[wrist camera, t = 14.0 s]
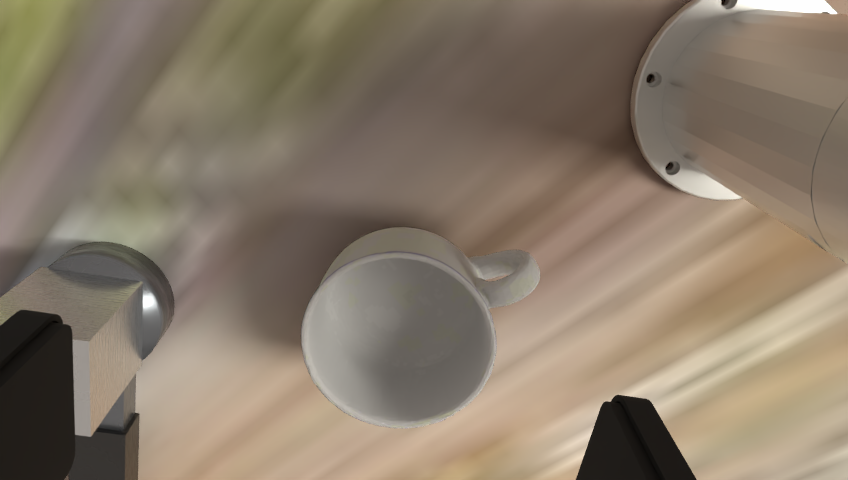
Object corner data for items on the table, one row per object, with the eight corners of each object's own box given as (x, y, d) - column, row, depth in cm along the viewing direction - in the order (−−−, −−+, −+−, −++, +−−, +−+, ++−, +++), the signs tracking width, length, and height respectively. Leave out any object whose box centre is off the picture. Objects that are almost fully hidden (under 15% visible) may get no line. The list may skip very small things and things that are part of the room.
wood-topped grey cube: (143, 281, 38) (89, 341, 32) (141, 364, 40) (90, 437, 34) (40, 266, 38) (-36, 324, 31) (45, 351, 40) (-26, 422, 33)
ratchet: (165, 502, 48) (136, 564, 43) (56, 489, 47) (14, 550, 42) (176, 252, 40) (143, 291, 35) (47, 232, 40) (-6, 268, 35)
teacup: (350, 372, 44) (338, 449, 37) (294, 233, 40) (268, 289, 33) (545, 319, 43) (573, 388, 35) (506, 171, 39) (529, 214, 31)
